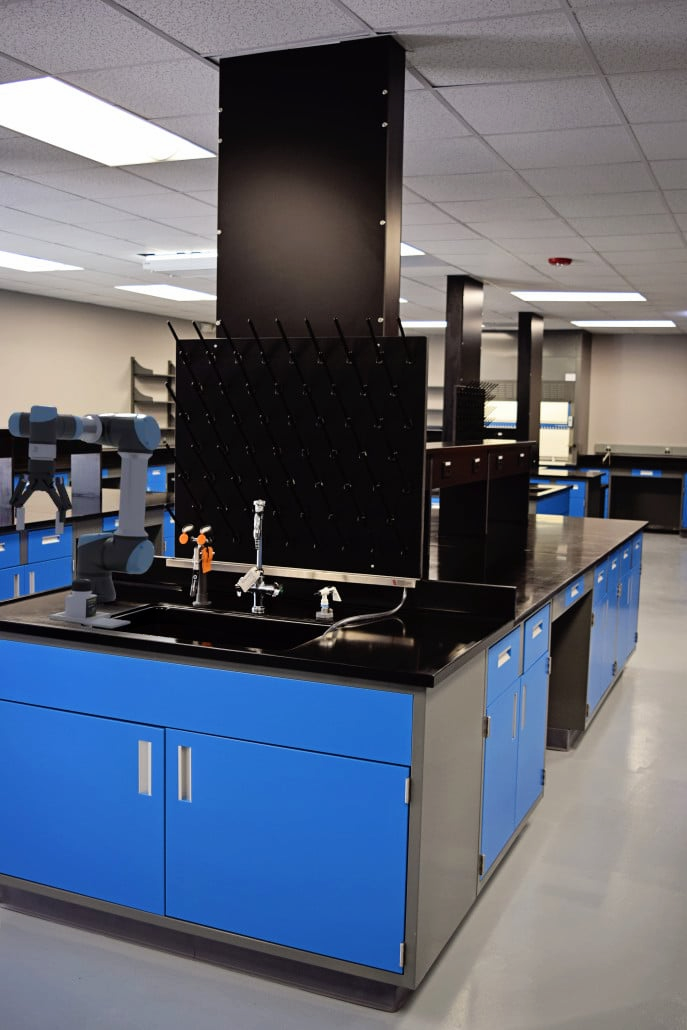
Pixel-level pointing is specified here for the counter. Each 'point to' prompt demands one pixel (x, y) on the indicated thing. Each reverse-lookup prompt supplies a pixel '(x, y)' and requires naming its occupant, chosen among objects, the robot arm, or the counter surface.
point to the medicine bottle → (81, 600)
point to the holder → (79, 620)
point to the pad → (106, 622)
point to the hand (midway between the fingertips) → (39, 531)
